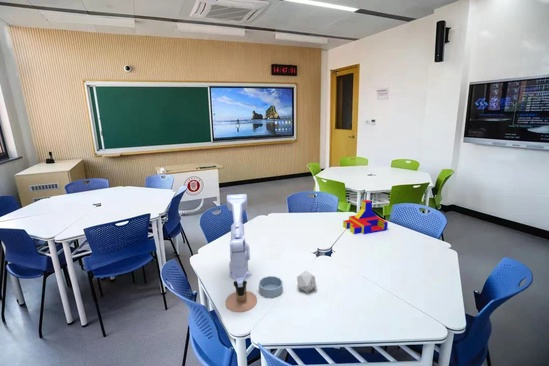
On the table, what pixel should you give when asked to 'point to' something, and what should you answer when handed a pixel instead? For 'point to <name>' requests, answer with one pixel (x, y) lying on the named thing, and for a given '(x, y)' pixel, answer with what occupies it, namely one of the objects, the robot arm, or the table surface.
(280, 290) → the bowl
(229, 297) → the peach round plate
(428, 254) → the table surface
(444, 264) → the table surface
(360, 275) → the table surface
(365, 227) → the building blocks toy
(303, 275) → the die
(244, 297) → the walnut block
